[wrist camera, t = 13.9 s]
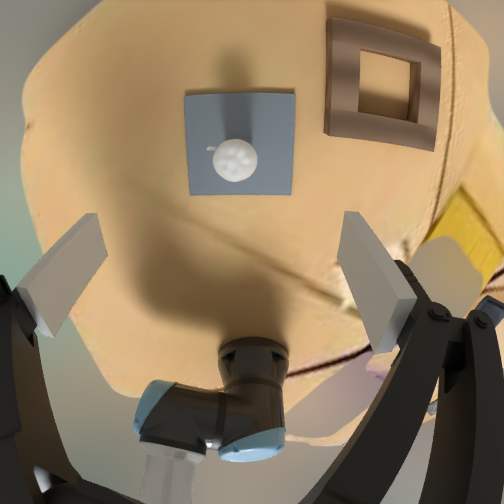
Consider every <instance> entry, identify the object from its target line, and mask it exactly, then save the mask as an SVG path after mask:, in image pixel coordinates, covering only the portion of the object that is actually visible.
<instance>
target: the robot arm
mask: <svg viewBox="0 0 504 504" xmlns="http://www.w3.org/2000/svg"><path fill="white" fill-rule="evenodd" d="M107 256H108V253H107V250H106V246H105V243H104V239H103V235H102V232H101V228H100V224H99V219H98V215H97V213H87V214H85V215H84V216H83V217H82V218H81V219H80V220H79V221H78V222H77V223H76V224H74V225H73V226H72V227H71V228H70V229H69V230H68V231H67V232H66V233H65V234H64V235H63V236H62V237H61V238H60V239H59V240H58V241H57V242H56V243H55V244H54V245H53V246H52V247H51V248H50V249H49V250H48V251H47V252H46V253H45V254H44V255H43V257H42V258H41V259H40V260H39V261H38V262H37V263H36V264H35V265H34V266H33V267H32V269H31V270H30V271H29V272H28V273H27V274H26V276H25V277H24V278H23V279H22V280H21V282H20V283H19V284H18V285H17V286H16V288H15V289H14V290H13V291H11V289H10V287H9V285H8V283H7V281H6V279H5V277H4V276H3V275H0V504H191V500H192V492H193V483H194V473H195V466H196V464H197V463H198V462H200V461H201V460H203V459H204V458H205V457H206V456H205V455H206V449H211V450H217V451H218V455H219V457H220V458H221V459H223V460H227V461H231V462H248V461H257V460H263V459H267V458H270V457H273V456H275V455H277V454H279V453H280V452H281V451H282V450H283V448H284V445H285V432H286V429H285V422H284V407H283V394H282V386H283V383H284V380H285V377H286V374H287V370H288V367H289V360H288V353H287V351H286V350H285V348H284V347H283V346H281V345H280V344H278V343H277V342H274V341H272V340H268V339H264V338H242V339H238V340H235V341H232V342H230V343H228V344H227V345H225V346H224V347H223V348H222V349H221V351H220V353H219V359H218V367H219V371H220V374H221V378H222V381H223V385H224V392H218V391H213V390H208V389H202V388H197V387H192V386H188V385H184V384H179V383H178V382H169V381H164V380H154V381H152V382H151V383H150V384H149V385H148V386H147V387H146V389H145V391H144V392H143V394H142V397H141V399H140V401H139V404H138V408H137V410H136V414H135V419H134V423H133V430H134V432H135V433H136V434H137V435H141V436H140V441H139V444H140V446H141V447H142V449H143V450H144V451H145V454H146V457H145V463H144V469H143V476H142V482H141V489H140V497H139V500H136V499H133V498H131V497H128V496H125V495H123V494H120V493H118V492H116V491H113V490H111V489H109V488H106V487H103V486H100V485H97V484H95V483H92V482H89V481H87V480H84V479H82V478H81V476H80V475H79V473H78V472H77V471H76V470H75V469H74V468H73V466H72V465H71V463H70V462H69V460H68V457H67V455H66V452H65V449H64V447H63V444H62V441H61V438H60V435H59V432H58V430H57V426H56V423H55V419H54V416H53V413H52V409H51V406H50V402H49V398H48V394H47V389H46V385H45V380H44V375H43V371H42V365H41V359H40V353H39V347H38V339H37V335H36V333H35V332H34V330H35V328H36V326H37V327H38V328H39V330H40V331H41V333H42V335H44V336H48V337H52V338H54V337H55V336H56V334H57V332H58V330H59V329H60V327H61V325H62V324H63V322H64V320H65V319H66V317H67V315H68V314H69V312H70V311H71V309H72V307H73V306H74V304H75V303H76V301H77V300H78V298H79V297H80V295H81V293H82V292H83V290H84V289H85V287H86V286H87V284H88V283H89V282H90V280H91V279H92V277H93V276H94V274H95V273H96V271H97V270H98V269H99V267H100V266H101V264H102V263H103V262H104V260H105V259H106V257H107ZM337 259H338V261H339V264H340V266H341V268H342V271H343V273H344V275H345V278H346V280H347V283H348V285H349V288H350V290H351V293H352V295H353V298H354V300H355V303H356V305H357V308H358V311H359V313H360V316H361V319H362V321H363V324H364V327H365V329H366V332H367V335H368V338H369V341H370V343H371V346H372V349H373V352H374V354H378V353H386V352H391V351H392V350H393V348H394V346H395V344H396V342H397V343H398V345H399V348H400V351H399V352H398V354H397V356H396V358H395V359H394V361H393V363H392V364H391V369H390V371H389V372H388V374H387V376H386V378H385V380H384V382H383V384H382V386H381V388H380V390H379V391H378V394H377V395H376V397H375V399H374V401H373V402H372V404H371V406H370V407H369V409H368V411H367V412H366V414H365V416H364V417H363V419H362V421H361V422H360V424H359V425H358V427H357V428H356V430H355V432H354V433H353V435H352V436H351V438H350V439H349V441H348V442H347V443H346V445H345V446H344V448H343V449H342V451H341V452H340V453H339V455H338V456H337V458H336V459H335V460H334V462H333V463H332V464H331V466H330V467H329V468H328V470H327V471H326V472H325V474H324V475H323V476H322V477H321V479H320V480H319V481H318V482H317V483H316V485H315V486H314V487H313V488H312V489H311V490H310V492H309V493H308V494H307V495H306V496H305V497H304V498H303V499H302V500H301V501H300V502H299V503H298V504H380V502H381V501H382V499H383V498H384V496H385V494H386V493H387V491H388V489H389V488H390V486H391V484H392V483H393V481H394V479H395V477H396V476H397V474H398V472H399V470H400V468H401V466H402V465H403V463H404V461H405V459H406V457H407V455H408V453H409V451H410V449H411V447H412V444H413V442H414V440H415V438H416V436H417V433H418V431H419V429H420V426H421V424H422V422H423V419H424V417H425V414H426V411H427V409H428V406H429V403H430V401H431V398H432V395H433V392H434V389H435V386H436V383H437V380H438V377H439V386H438V401H437V412H436V421H435V429H434V436H433V443H432V449H431V454H430V459H429V464H428V469H427V474H426V478H425V482H424V486H423V490H422V493H421V497H420V500H419V504H501V499H502V493H503V486H504V376H503V368H502V361H501V356H500V350H499V345H498V340H497V335H496V331H495V326H494V323H493V321H492V319H491V318H490V317H489V315H488V314H486V313H485V312H483V311H480V310H475V309H474V310H471V311H470V313H469V314H468V316H467V317H466V319H462V318H456V317H452V315H451V313H450V311H449V310H448V309H447V308H446V307H445V306H443V305H441V304H439V303H436V302H432V301H431V300H430V298H429V297H428V295H427V294H426V292H425V291H424V289H423V287H422V286H421V285H420V283H419V282H418V280H417V278H416V277H415V276H414V274H413V273H412V271H411V270H410V268H409V267H408V266H407V265H406V264H404V263H403V262H402V261H401V260H393V259H392V257H391V256H390V254H389V253H388V251H387V250H386V249H385V247H384V246H383V244H382V243H381V241H380V240H379V239H378V237H377V236H376V234H375V233H374V232H373V230H372V229H371V228H370V226H369V225H368V224H367V222H366V221H365V219H364V218H363V217H362V216H361V214H360V213H359V212H352V211H345V213H344V220H343V226H342V232H341V238H340V243H339V249H338V254H337ZM41 491H42V492H43V493H42V492H41Z"/></svg>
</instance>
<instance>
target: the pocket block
mask: <svg viewBox="0 0 504 504" xmlns="http://www.w3.org/2000/svg"><path fill="white" fill-rule="evenodd" d="M326 32H327V55H326V96H325V118H324V133H325V134H327V135H328V136H335V137H345V138H353V139H362V140H369V141H376V142H383V143H390V144H396V145H401V146H407V147H412V148H417V149H422V150H427V151H432V152H434V147H435V140H436V132H437V124H438V114H439V102H440V85H441V47H439V46H436V45H434V44H431V43H429V42H426V41H423V40H421V39H418V38H415V37H412V36H409V35H406V34H403V33H400V32H397V31H394V30H390V29H387V28H383V27H380V26H376V25H372V24H368V23H363V22H359V21H354V20H349V19H344V18H339V17H333V16H332V17H331V18H330V19H329V20H328V21H327V22H326ZM360 50H362V51H367V52H371V53H376V54H380V55H384V56H388V57H392V58H395V59H399V60H402V61H406V62H409V63H410V91H409V106H408V117H407V120H402V119H397V118H393V117H387V116H382V115H377V114H371V113H365V112H358V101H359V80H360Z"/></svg>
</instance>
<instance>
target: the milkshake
mask: <svg viewBox="0 0 504 504" xmlns="http://www.w3.org/2000/svg"><path fill="white" fill-rule="evenodd" d="M206 150H213V151H215V153H214V155H213V165H214V168H215V170H216V172H217V173H218V174H219V175H220V176H221V177H222V178H224V179H226V180H228V181H231V182H238V181H242V180H245V179H247V178H248V177H250V176H251V175H252V174H253V172H254V171H255V169H256V166H257V154H256V151H255V150H254V148H253V146H252V144H251V142H250V139H248V138H247V137H245V136H244V135H234V136H233V137H232V138H230V139H229V140H227V141H225V142H223V143H221V144H220V145H219V146H218V147H214V146H208V147H207V149H206Z"/></svg>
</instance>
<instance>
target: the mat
mask: <svg viewBox="0 0 504 504" xmlns="http://www.w3.org/2000/svg"><path fill="white" fill-rule="evenodd" d="M295 97H296V94H286V93H215V94H199V95H187V96H184V109H185V130H186V147H187V162H188V176H189V188H190V196H191V195H291V190H292V173H293V153H294V129H295ZM234 135H244V136H245V137H247V138H248V139H250V142H251V144H252V146H253V148H254V150H255V151H256V154H257V166H256V169H255V171H254V172H253V174H252V175H251V176H250V177H248V178H247V179H245V180H242V181H238V182H231V181H228V180H226V179H224V178H222V177H221V176H220V175H219V174H218V173H217V172H216V170H215V168H214V165H213V155H214V153H215V151H213V150H206V149H207V147H208V146H214V147H218V146H219V145H220V144H221V143H223V142H225V141H227V140H229V139H230V138H232V137H233V136H234Z"/></svg>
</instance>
